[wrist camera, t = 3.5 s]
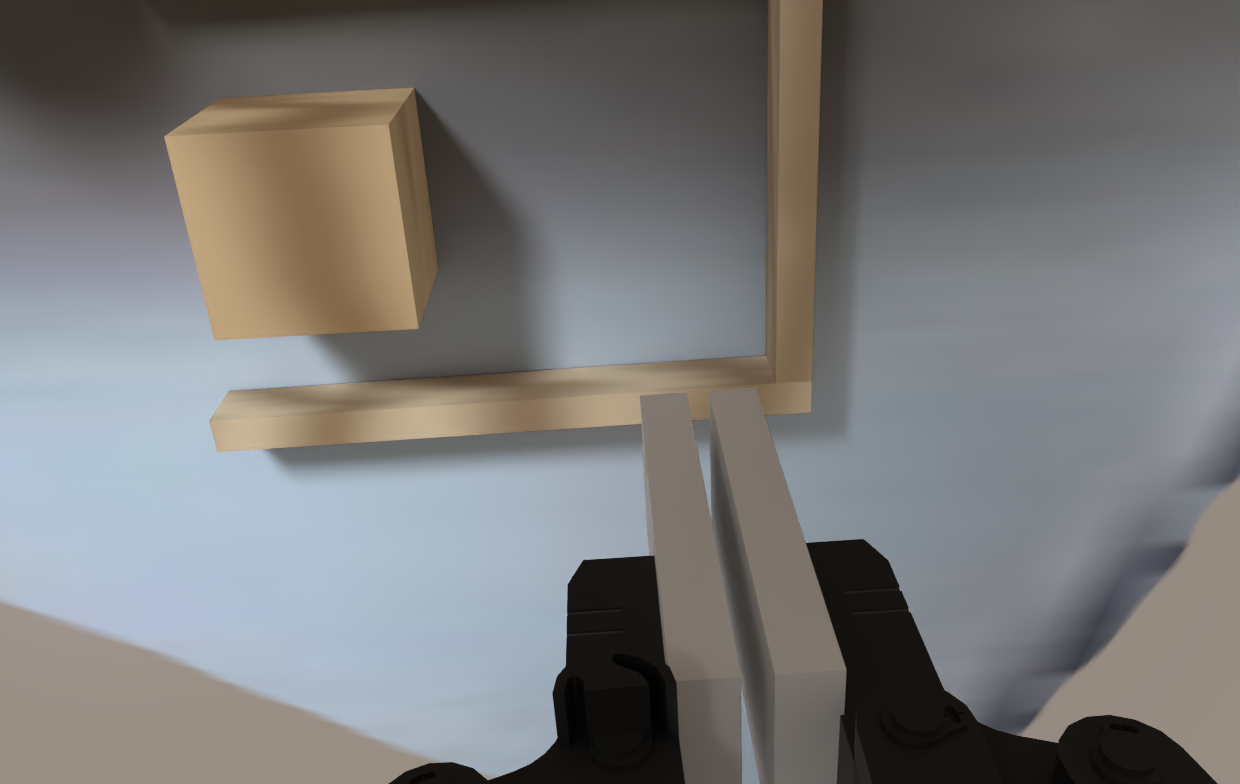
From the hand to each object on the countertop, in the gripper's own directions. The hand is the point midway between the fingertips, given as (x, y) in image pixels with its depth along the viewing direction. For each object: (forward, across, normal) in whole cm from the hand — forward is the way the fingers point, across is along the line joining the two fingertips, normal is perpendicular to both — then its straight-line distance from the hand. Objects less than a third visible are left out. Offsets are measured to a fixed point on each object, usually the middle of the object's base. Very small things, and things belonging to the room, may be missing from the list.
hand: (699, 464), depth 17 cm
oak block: (+19, -10, 0) cm, 21 cm away
